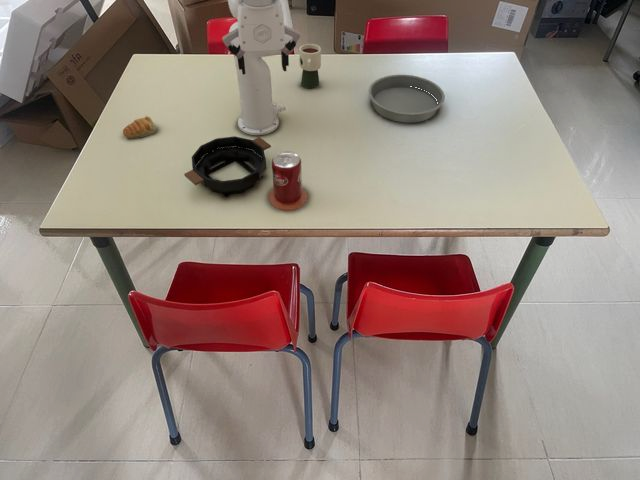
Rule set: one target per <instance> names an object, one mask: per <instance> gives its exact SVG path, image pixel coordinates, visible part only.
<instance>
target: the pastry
mask: <svg viewBox="0 0 640 480" xmlns="http://www.w3.org/2000/svg"><path fill="white" fill-rule="evenodd" d="M156 132H157V126H156V125H155V123H154V121H153V120H152V118H151V117H150V116H148V115H145V116H144V117H141V118H136V119H134V120H133V121H132V122H131V123H129V124H128V125H126V126H125V127H124V128H123V130H122V134H123V136H124V137H126V138H128V139H136V138H143V137H148V135H153V134H155V133H156Z"/></svg>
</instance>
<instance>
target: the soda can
mask: <svg viewBox="0 0 640 480" xmlns="http://www.w3.org/2000/svg"><path fill="white" fill-rule="evenodd" d="M271 172H272V173H271V174H272V185H273V186H272V187H273V189H274V197H275V199H276V200H277V201H279V202H280V203H283V204H292V203H295V202H297V201H298V200H299V199H300V198H301V196H302V188H303V183H302V182H303V181H302V180H303V179H302V158H301V157H300V156H299V155H298V154H297V153H295V152H293V151H280V152H278V153H276V154H275V155H274V156H273V158H271Z"/></svg>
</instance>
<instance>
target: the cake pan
mask: <svg viewBox="0 0 640 480" xmlns="http://www.w3.org/2000/svg"><path fill="white" fill-rule="evenodd" d="M410 86H412V87H410ZM415 87H417V88H415ZM418 88H420V89H418ZM421 89H422V90H421ZM424 90H425V91H424ZM426 91H427V92H426ZM428 92H429V93H430V94H429V93H428ZM431 94H432V95H433V96H434V97H435V98H436V99H437V101H436V99H435V98H434V97H433V96H432V95H431ZM368 96H369V98H370V100H371V104H372V107H373V109H374V111H376V113H378V114H379V115H380V116H382V117H383V118H386V119H388V120H390V121H393V122H397V123H404V124H405V123H406V124H407V123H408V124H413V123H414V124H415V123H422V122H425V121H427V120H429V119H431V118H432V117H434V116H435V115H436V113H437V111H438V109H440V108H441V107H442V106H443V104H444V102H445V98H446V97H445V96H446V95H445V93H444V90H443V89H442V88H441V87H440V86H439V85H438V84H437V83H436V82H433V81H431V80H430V79H427V78H425V77H421V76H417V75H412V74H390V75H385V76H382V77H380V78H378V79H376V80H374V81H373V82H372V83H371V84H370V85H369V87H368ZM437 102H438V104H437Z"/></svg>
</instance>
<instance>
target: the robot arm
mask: <svg viewBox="0 0 640 480" xmlns="http://www.w3.org/2000/svg"><path fill="white" fill-rule="evenodd" d="M227 3H228V4H227V5H228V9H229V12H230V13H231V15H232V17H233V18H234V19H236V20H237V21H235V22H234V23H233V24H232V25H231V26H230V27H229V30H228V33H227V34H224V35H223V36H222V42H223V44H224V46H225V47H226V48H227V50H228V51H229V52H230V53H231V54H232V55H233V60H234V63H235V69H236V70H235V71H236V76H237V83H238V84H237V85H238V92H239V93H238V94H239V102H240V110H241V115H240V116H239V117H238V119H237V127H238V129H239V130H240V131H241V132H243V133H245V134H247V135H250V136H264V135H268V134H270V133H273V132H274V131H275V130H276V129H278V127H279V126H280V125H279V123H280V120H279V117H278V116H277V115H279V113H281V112H283V111H286V106H285V104H283V103H282V104H281V103H280V104H278V105H277V103H276V102H274V103H273V90H272V74H271V69H270V66H269V65H268V63H267V62H266V60H265V59H263V58H265V57H266V58H267V57H272V56H273V57H274V56H280V58H281V68H282V71H283V72H287V67H289V66H290V62H289V61H290V60H289V59H290V58H289V55H291V53H292V52H293V51H294V48H295V47H296V46H297V43H298V41H299V40H300V37H301V33H300V32H299V31H298V30H296V29H294V26H293V20H292V14H291V10H290V6H289V1H288V0H227Z"/></svg>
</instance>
